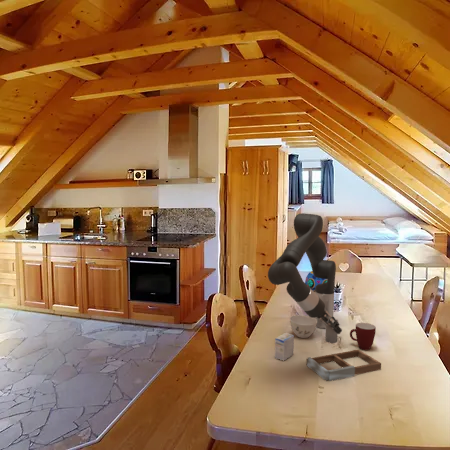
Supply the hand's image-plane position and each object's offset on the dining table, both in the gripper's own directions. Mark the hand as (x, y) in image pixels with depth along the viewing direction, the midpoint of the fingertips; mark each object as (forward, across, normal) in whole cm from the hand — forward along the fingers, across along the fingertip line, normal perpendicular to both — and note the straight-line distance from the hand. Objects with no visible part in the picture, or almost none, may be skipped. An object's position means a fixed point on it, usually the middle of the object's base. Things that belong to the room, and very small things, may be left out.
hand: (335, 329), depth 146 cm
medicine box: (+2, +16, +20) cm, 26 cm away
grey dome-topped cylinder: (+2, 0, +4) cm, 4 cm away
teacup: (+16, +33, +6) cm, 37 cm away
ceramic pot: (+47, +85, -25) cm, 100 cm away
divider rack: (+14, 0, +8) cm, 16 cm away
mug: (+28, +12, -5) cm, 31 cm away
